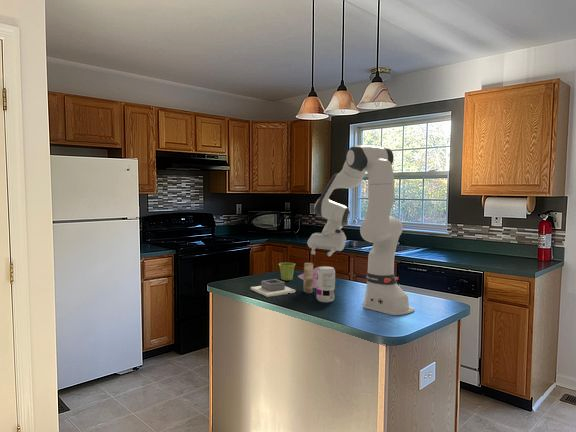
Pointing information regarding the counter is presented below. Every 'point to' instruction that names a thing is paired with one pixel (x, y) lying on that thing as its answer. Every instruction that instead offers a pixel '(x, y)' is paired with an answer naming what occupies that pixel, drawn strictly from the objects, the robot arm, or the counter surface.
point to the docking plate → (272, 288)
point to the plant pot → (286, 270)
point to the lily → (313, 277)
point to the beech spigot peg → (308, 277)
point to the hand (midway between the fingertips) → (320, 254)
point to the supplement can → (325, 284)
